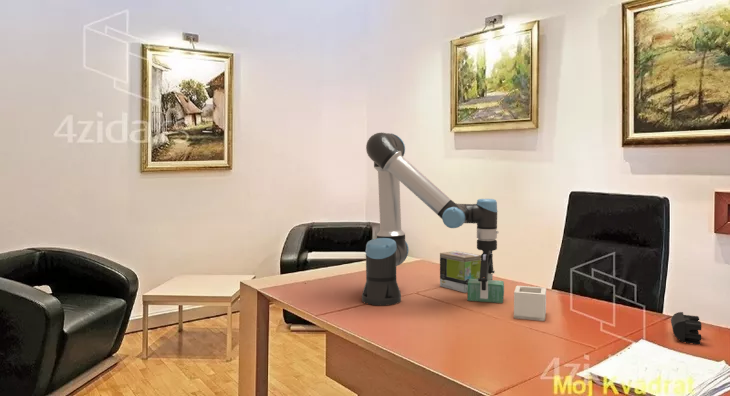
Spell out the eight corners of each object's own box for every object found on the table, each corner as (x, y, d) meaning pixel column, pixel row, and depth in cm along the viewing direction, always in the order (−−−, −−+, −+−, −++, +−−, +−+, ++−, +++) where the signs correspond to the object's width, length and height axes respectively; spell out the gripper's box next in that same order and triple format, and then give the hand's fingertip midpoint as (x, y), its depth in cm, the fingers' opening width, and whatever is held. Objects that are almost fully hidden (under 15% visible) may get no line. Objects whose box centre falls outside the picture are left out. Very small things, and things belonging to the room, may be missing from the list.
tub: (513, 318, 179) (514, 292, 179) (516, 310, 189) (516, 285, 188) (544, 321, 176) (545, 294, 175) (545, 312, 185) (546, 287, 184)
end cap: (670, 332, 164) (671, 310, 164) (697, 335, 161) (698, 313, 160) (672, 342, 155) (673, 319, 155) (700, 345, 152) (701, 322, 151)
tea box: (481, 290, 218) (481, 254, 217) (464, 293, 213) (464, 257, 212) (456, 283, 231) (456, 249, 230) (439, 286, 225) (438, 252, 224)
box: (503, 303, 198) (503, 284, 197) (467, 301, 201) (467, 282, 201) (504, 298, 205) (504, 279, 204) (468, 296, 209) (468, 278, 208)
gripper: (492, 244, 188) (492, 303, 190) (500, 235, 212) (500, 287, 213) (471, 243, 191) (471, 301, 193) (481, 234, 214) (481, 285, 216)
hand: (486, 294), depth 203 cm, fingers open, 13 cm apart
